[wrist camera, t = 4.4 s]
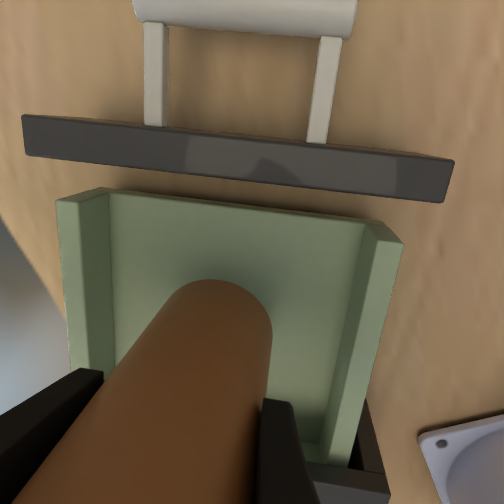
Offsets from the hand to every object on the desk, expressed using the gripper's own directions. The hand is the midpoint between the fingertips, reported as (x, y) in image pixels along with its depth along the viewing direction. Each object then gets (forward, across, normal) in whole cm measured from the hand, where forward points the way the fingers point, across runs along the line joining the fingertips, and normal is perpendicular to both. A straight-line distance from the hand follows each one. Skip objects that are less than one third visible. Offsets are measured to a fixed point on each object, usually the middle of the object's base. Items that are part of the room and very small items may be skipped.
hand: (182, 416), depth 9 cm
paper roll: (+4, 0, 0) cm, 4 cm away
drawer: (+7, 0, -2) cm, 7 cm away
